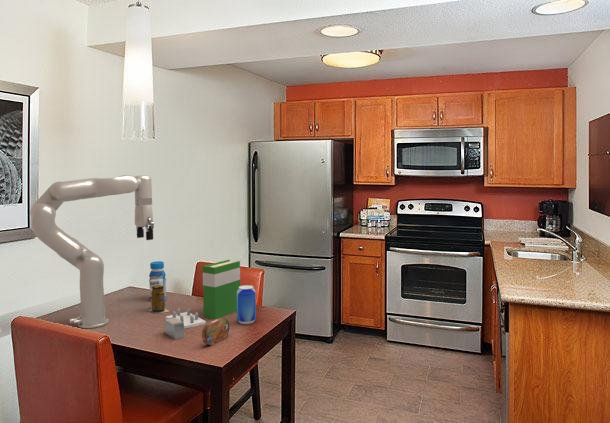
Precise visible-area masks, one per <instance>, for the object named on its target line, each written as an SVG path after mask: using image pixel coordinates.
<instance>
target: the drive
mask: <svg viewBox="0 0 610 423" xmlns="http://www.w3.org/2000/svg"><path fill="white" fill-rule="evenodd" d="M164 334H166V335H168V336H169V337H171V338H172V339H173V340H178V339H183V338H185V329H184V323H183V322H182V321H180V320H179V319H177V318H174V317H172V318H168V319H166V318H165V319H164Z"/></svg>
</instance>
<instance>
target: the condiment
mask: <svg viewBox="0 0 610 423" xmlns="http://www.w3.org/2000/svg"><path fill="white" fill-rule="evenodd" d="M163 290H164V289H163V286H162V285H156V286H153V287H152V293H151V294H152V301H151V309H148V311H149V312H151V313H153V314H163V313H167V312H170V310H169V309H166V308H165V307H166V300H165V294H164V291H163Z"/></svg>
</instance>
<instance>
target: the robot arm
mask: <svg viewBox="0 0 610 423" xmlns="http://www.w3.org/2000/svg"><path fill="white" fill-rule="evenodd" d="M152 185H153V184H152V177H151V176H150V175H128V174H125V175H120V176H118V177H117V176H116V177H108V178H107V177H106V178H102V177H91V178H83V179H75V180H66V181H55V182H53V183H52V184H51V185H50V186H48V188H47V189H46V190H45V192H44V193H42V195H41V196H40V197H39V198H38V199H37V200H36V201H35V202H34V204H33V205H32V206H31V208H30V211H29V212H30V216H31V218H32V219H31V228H32V232H33V233H34V235H35V236H36V238H37V239H39V241H40V242H42V243H43V244H44V245H45V246H47V248H50V249H51V250H52V251H54V252H55V253H56V254H57V256H59V257H60V258H62V259H64V260H65V261H66V262H68V263H69V264H70V265H72V266H74V267H75V268H76V269H77V270H79V296H80V299H79V300H80V314H79V316H77V317H73V318H69V322H68V323H69V324H74V325H75V324H77V327H78V328H81V329H94V328H95V329H96V328H101V327H104V326H106V325H107V324H108V323H109V318H108V317H106V315H105V314H106V311H105V292H104V290H105V289H104V288H105V287H104V272H105V270H104V269H105V266H104V261H103V259H102V257H101V256H99V255H98V254H97V253H95V252H93V251H92V250H90V249H89V248H88V247H87V246H85V245H83V244H82V243H81V242H80V241H79V240H78V239H76V237H73V236H71V235H69V234H68V233H66V232H65V231H64V230H63V229H61V228H60V227H59V226H58V225H57V224H56V216H57V214H56V213H57V210H58V209H59V208H60V207H61V206H62V205H63V204H64V203H65V202H74V201H79V200H86V199H95V198H102V197H108V196H117V195H122V194H123V195H124V194H130V193H133V192H134V225H135V226H136V227H135V228H136V229H135V230H136V238H137V239H139V238H144V237H145V240H146V241H152V240H154V225H155V222H154V215H153V208H152V206H153V191H152V190H153V189H152V187H153V186H152ZM144 228H145V229H144ZM145 230H146V231H145ZM144 231H145V232H144Z"/></svg>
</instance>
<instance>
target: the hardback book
mask: <svg viewBox="0 0 610 423" xmlns="http://www.w3.org/2000/svg"><path fill="white" fill-rule="evenodd" d="M239 286H241V261H240V260H237V261H231V260H230V259H225V260H221V261H218V262H213V263H210V264H206V265H202V295H203V296H202V297H203V298H202V299H203V301H202V303H203V305H202V306H203V307H202V308H203V318H207V319H210V320H211V319H212V320H216V319H218V318H224V317H226V316H228V315H230V314H233V313H235V312H236V313H237V291H238V289H239Z"/></svg>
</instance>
